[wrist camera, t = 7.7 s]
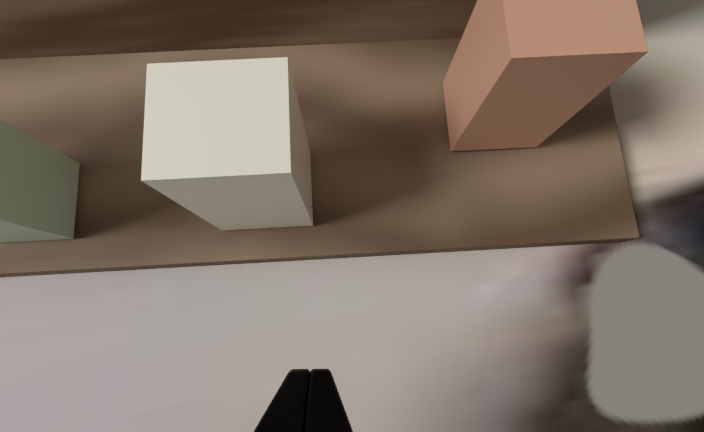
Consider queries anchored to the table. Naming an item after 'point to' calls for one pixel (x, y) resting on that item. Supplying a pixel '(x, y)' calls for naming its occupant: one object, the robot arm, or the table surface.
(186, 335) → the table surface
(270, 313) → the table surface
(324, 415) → the robot arm
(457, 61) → the pink rectangular block
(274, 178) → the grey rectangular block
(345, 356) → the table surface
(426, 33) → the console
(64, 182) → the pale green block
